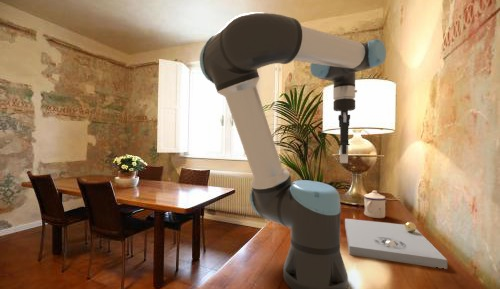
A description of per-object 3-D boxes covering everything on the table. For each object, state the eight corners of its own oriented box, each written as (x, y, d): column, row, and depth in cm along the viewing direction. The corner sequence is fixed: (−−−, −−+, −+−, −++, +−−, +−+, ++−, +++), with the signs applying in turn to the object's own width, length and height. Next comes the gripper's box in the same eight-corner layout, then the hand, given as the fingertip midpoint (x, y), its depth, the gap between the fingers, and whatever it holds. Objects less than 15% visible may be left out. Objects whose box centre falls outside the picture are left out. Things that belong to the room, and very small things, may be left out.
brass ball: (417, 234, 79) (417, 224, 79) (406, 233, 80) (406, 223, 80) (414, 230, 82) (414, 221, 82) (403, 229, 84) (403, 220, 84)
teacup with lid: (368, 211, 115) (369, 188, 115) (389, 216, 108) (389, 191, 108) (357, 216, 107) (357, 191, 107) (377, 221, 100) (378, 194, 100)
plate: (447, 269, 61) (447, 259, 61) (349, 254, 70) (349, 246, 70) (412, 232, 88) (412, 225, 88) (344, 224, 96) (344, 218, 96)
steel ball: (396, 254, 71) (398, 250, 69) (383, 252, 73) (385, 248, 70) (394, 243, 73) (397, 239, 71) (382, 241, 75) (384, 237, 72)
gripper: (356, 95, 79) (356, 164, 79) (353, 102, 91) (353, 162, 91) (333, 96, 81) (333, 163, 81) (333, 103, 93) (333, 161, 93)
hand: (343, 162), depth 86 cm, fingers closed
